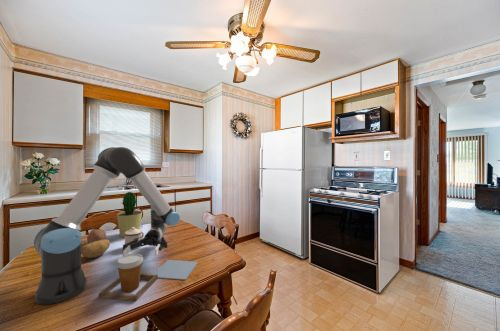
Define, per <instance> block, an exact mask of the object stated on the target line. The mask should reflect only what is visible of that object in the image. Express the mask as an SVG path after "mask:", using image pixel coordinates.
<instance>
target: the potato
mask: <svg viewBox="0 0 500 331" xmlns="http://www.w3.org/2000/svg"><path fill="white" fill-rule="evenodd" d="M110 246H111V242H110V240H109V239H106V238H105V239H103V240H99V241H95V242H92V243H89V242H88V243H87V244H85V245H83V246H81V256H83V257H84V258H88V259H95V258H98V257H101V256H103V255H104V253H105V252H106V251H107V250H108V249H109V247H110Z"/></svg>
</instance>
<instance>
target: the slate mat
mask: <svg viewBox="0 0 500 331" xmlns="http://www.w3.org/2000/svg"><path fill="white" fill-rule="evenodd" d="M198 263H199V261H192V260H191V261H190V260H175V259H172V260H171V259H167V260H166V261H165V262H164V263H163V264H162V265H161V266H160V267H159V268H158V269H156V271H155V272H154V273H153V274H156V275H158V279H166V280H181V281H186V280H187V279H188V278H189V277H190V275H191V273H192V272H193V271H194V269H195V268H196V266H197V265H198Z"/></svg>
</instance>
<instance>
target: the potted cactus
mask: <svg viewBox="0 0 500 331" xmlns="http://www.w3.org/2000/svg"><path fill="white" fill-rule="evenodd" d="M121 199H122V201H121V202H120V204H122V206H123V211H122V212H118V213H117V214H116V218H117V224H118V230H119V235H120V238H125V235H124V234H125V232H126V231H129V230H130V229H131V228H132V227H135V229H139V230H141V223H142V218H143V211H141V210H135V209H136V205H137V202H138V201H137V200H138V199H137V197H136V195H135V193H134V191H132V192H131V191H128V192H126V193H124V194H123V196H122V198H121Z"/></svg>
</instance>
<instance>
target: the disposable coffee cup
mask: <svg viewBox="0 0 500 331" xmlns="http://www.w3.org/2000/svg"><path fill="white" fill-rule="evenodd" d="M143 262H144V257H143V255H142V254H139V253H128V254H127V255H126V256H123V255H122V256H121V257H120V258H118V260H117V262H116V267H117V269H118V276H119V277H120V283H119V284H120V290H121V292H122V293H130V292H134V291H135V290H137V289H138V288H139V287H140V280H141V279H140V275H141V273H142V267H143ZM119 277H118V278H119Z"/></svg>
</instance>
